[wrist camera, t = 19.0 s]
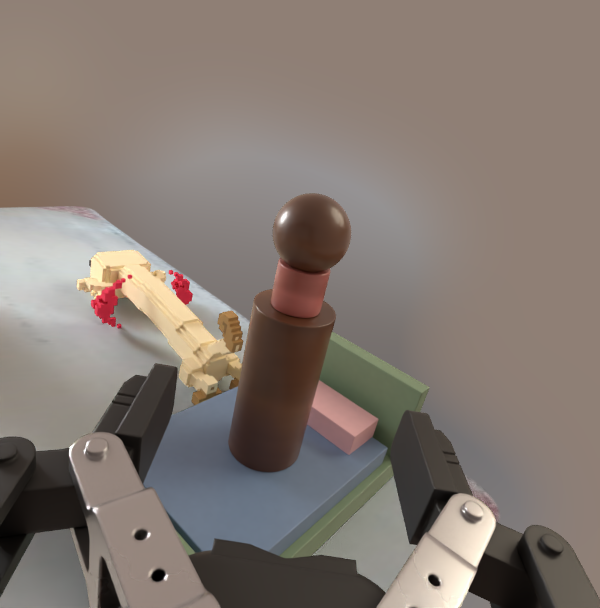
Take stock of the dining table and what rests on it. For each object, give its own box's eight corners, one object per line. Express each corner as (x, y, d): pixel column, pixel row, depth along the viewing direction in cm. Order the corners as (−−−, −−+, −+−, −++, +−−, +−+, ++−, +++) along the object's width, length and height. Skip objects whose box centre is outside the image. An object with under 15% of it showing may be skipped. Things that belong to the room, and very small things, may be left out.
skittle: (213, 439, 29) (255, 182, 22) (264, 412, 32) (314, 182, 25) (263, 485, 26) (328, 210, 19) (313, 450, 29) (383, 207, 23)
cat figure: (269, 397, 41) (145, 270, 56) (293, 316, 37) (153, 203, 52) (169, 434, 35) (58, 279, 49) (186, 341, 31) (59, 202, 45)
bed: (72, 495, 27) (72, 385, 24) (281, 391, 40) (299, 312, 37) (198, 665, 20) (222, 546, 17) (395, 473, 34) (430, 387, 31)
